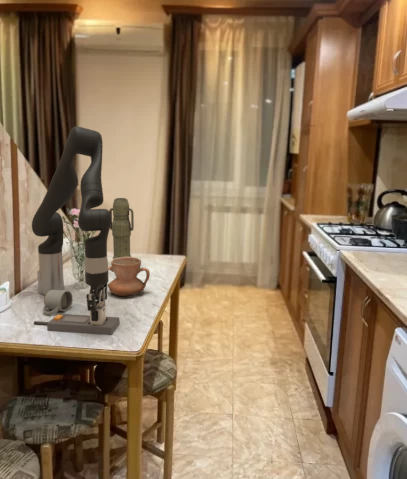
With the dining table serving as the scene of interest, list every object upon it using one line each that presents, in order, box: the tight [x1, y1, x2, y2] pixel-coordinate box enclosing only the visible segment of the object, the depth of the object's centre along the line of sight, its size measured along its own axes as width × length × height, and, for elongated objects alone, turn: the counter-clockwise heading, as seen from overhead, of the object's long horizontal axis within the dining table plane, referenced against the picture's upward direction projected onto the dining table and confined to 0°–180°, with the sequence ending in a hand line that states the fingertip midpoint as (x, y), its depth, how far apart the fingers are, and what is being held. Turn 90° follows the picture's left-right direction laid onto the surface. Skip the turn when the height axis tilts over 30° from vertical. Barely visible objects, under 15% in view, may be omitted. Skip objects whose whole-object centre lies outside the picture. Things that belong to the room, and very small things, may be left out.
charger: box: [89, 301, 107, 325], centre depth 156 cm, size 4×4×9 cm
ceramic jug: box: [107, 256, 151, 297], centre depth 191 cm, size 18×14×14 cm
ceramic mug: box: [42, 289, 74, 316], centre depth 171 cm, size 11×8×8 cm
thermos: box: [108, 197, 135, 260], centre depth 221 cm, size 9×12×35 cm
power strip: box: [33, 313, 121, 336], centre depth 158 cm, size 29×9×3 cm, turn 83°
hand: (98, 317), depth 156 cm, fingers open, 5 cm apart
